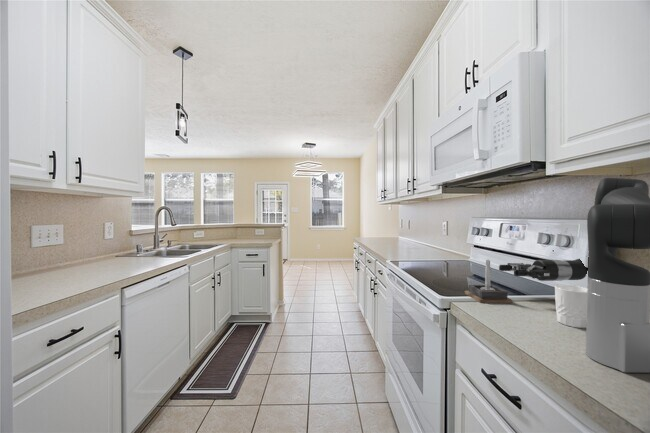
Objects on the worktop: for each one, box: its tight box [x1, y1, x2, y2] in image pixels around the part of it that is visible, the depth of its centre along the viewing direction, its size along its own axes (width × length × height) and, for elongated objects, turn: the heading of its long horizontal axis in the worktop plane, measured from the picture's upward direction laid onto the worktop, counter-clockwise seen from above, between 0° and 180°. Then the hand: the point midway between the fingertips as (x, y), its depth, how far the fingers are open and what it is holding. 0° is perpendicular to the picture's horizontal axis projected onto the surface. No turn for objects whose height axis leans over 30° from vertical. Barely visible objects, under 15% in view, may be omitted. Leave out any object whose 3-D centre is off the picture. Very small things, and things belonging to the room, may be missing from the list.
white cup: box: [554, 284, 588, 329], centre depth 80 cm, size 8×8×10 cm
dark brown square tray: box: [464, 284, 513, 304], centre depth 103 cm, size 11×11×4 cm
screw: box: [480, 259, 495, 291], centre depth 103 cm, size 13×5×5 cm
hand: (506, 270), depth 103 cm, fingers open, 8 cm apart
